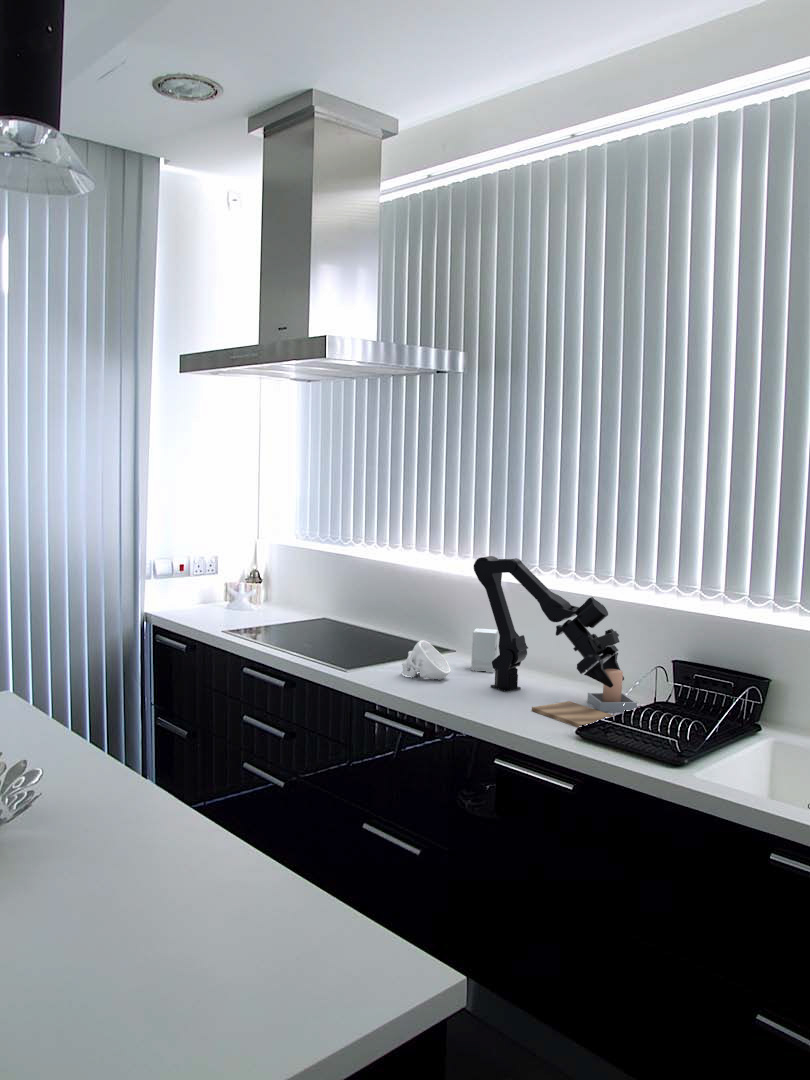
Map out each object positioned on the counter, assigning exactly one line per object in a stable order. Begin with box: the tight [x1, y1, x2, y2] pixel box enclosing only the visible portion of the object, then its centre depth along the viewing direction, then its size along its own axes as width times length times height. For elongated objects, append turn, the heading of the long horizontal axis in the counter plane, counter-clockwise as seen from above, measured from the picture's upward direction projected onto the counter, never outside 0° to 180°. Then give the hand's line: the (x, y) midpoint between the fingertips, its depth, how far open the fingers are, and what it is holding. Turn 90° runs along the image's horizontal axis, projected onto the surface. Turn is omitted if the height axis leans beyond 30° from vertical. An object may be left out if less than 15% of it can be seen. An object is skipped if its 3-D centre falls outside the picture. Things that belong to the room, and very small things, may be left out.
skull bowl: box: [401, 639, 452, 681], centre depth 279 cm, size 10×14×12 cm
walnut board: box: [531, 700, 615, 728], centre depth 242 cm, size 18×14×1 cm
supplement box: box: [470, 628, 499, 673], centre depth 292 cm, size 7×7×13 cm
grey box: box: [586, 692, 638, 713], centre depth 252 cm, size 10×10×2 cm
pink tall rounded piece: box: [602, 669, 624, 702], centre depth 252 cm, size 5×5×10 cm
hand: (617, 683), depth 251 cm, fingers open, 9 cm apart
